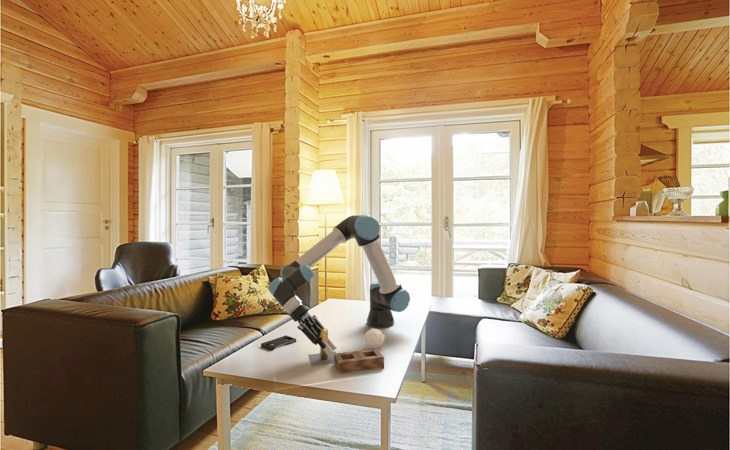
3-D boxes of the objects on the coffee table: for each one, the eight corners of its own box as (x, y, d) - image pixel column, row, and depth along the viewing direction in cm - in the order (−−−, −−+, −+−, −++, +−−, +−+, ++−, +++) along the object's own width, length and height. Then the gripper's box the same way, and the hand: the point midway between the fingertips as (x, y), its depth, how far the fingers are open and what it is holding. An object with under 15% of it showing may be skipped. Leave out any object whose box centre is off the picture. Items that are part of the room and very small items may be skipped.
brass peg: (327, 356, 143) (327, 328, 143) (328, 359, 140) (328, 330, 140) (319, 357, 142) (319, 328, 142) (320, 360, 139) (320, 331, 139)
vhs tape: (271, 352, 151) (271, 347, 151) (261, 347, 156) (260, 343, 156) (296, 343, 162) (296, 338, 162) (286, 339, 167) (286, 335, 167)
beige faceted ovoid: (377, 350, 146) (392, 345, 155) (373, 328, 148) (388, 324, 158) (362, 352, 151) (377, 347, 160) (358, 330, 153) (373, 327, 163)
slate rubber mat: (335, 352, 149) (335, 351, 149) (341, 363, 137) (341, 362, 137) (308, 355, 145) (308, 354, 145) (311, 367, 134) (311, 366, 134)
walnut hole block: (377, 359, 141) (376, 348, 141) (384, 368, 132) (384, 356, 132) (334, 364, 136) (334, 353, 136) (338, 374, 127) (338, 362, 127)
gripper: (299, 309, 153) (334, 350, 149) (280, 320, 138) (318, 365, 133) (310, 298, 152) (345, 339, 147) (292, 308, 136) (331, 353, 132)
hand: (332, 351), depth 140 cm, fingers closed on brass peg, 3 cm apart
